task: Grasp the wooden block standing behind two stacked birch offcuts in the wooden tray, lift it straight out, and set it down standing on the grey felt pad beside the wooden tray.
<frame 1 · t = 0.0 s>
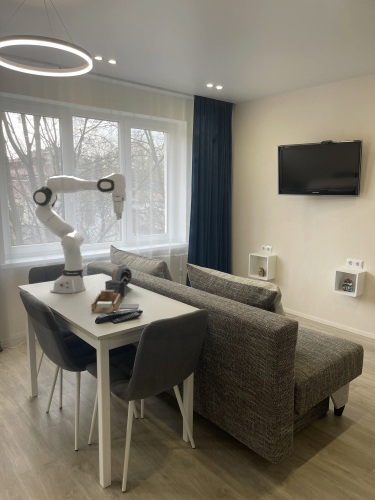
hand: (119, 219, 242), 48 cm above the table, fingers open, 8 cm apart
small box: (115, 297, 232), on the table
offcut low: (104, 311, 206), on the table, touching offcut top
offcut top: (104, 306, 206), point 2 cm above the table, touching offcut low
wooden block: (107, 305, 215), on the table
alarm clock: (121, 290, 249), on the table
wooden tray: (106, 306, 213), on the table
pad: (129, 306, 214), on the table
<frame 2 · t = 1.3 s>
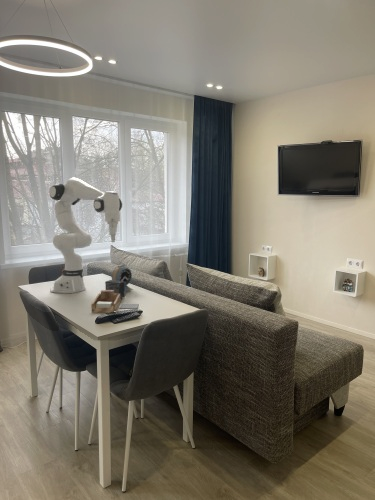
hand: (113, 241, 222), 36 cm above the table, fingers open, 8 cm apart
nothing on the table moved.
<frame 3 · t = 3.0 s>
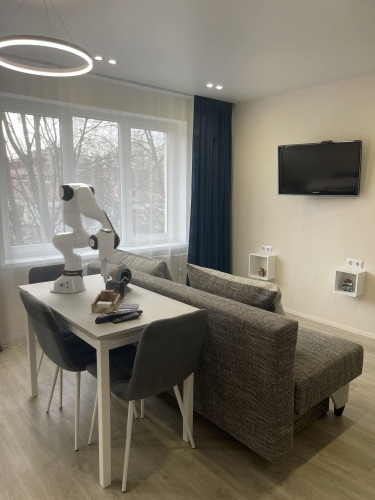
hand: (107, 280, 213), 15 cm above the table, fingers open, 8 cm apart
nothing on the table moved.
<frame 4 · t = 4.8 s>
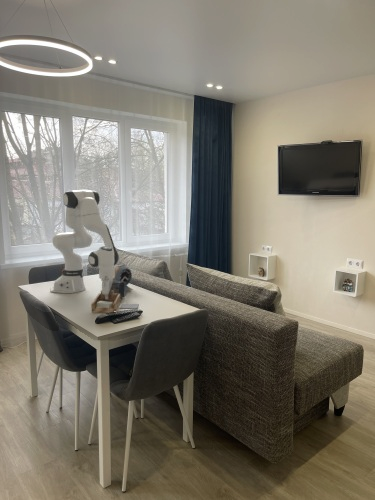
hand: (107, 297, 215), 5 cm above the table, fingers closed on wooden block, 3 cm apart
wooden block: (107, 305, 215), on the table, touching gripper
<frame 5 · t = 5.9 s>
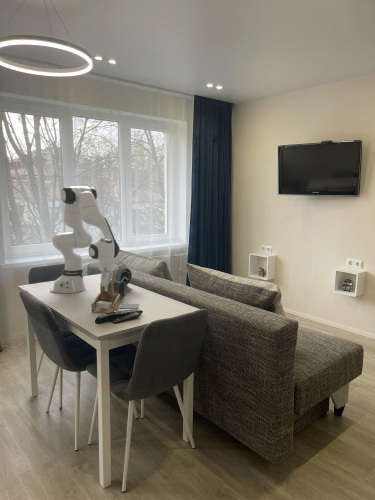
hand: (107, 289, 214), 9 cm above the table, fingers closed on wooden block, 3 cm apart
wooden block: (107, 297, 215), point 5 cm above the table, touching gripper
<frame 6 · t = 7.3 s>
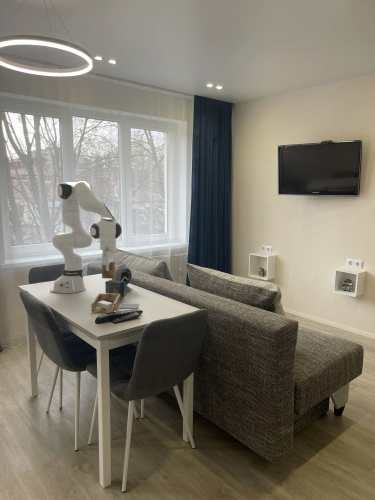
hand: (108, 270, 212), 21 cm above the table, fingers closed on wooden block, 3 cm apart
offcut top: (105, 306, 206), point 2 cm above the table, touching offcut low, wooden tray
wooden block: (108, 277, 212), point 17 cm above the table, touching gripper
everything else where it was.
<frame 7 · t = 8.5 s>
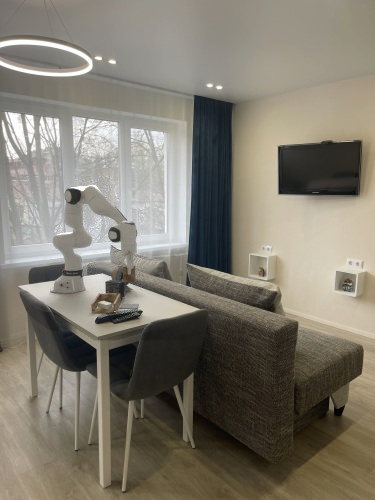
hand: (129, 273, 211), 20 cm above the table, fingers closed on wooden block, 3 cm apart
offcut low: (105, 311, 206), on the table
offcut top: (105, 307, 206), point 2 cm above the table
wooden block: (129, 281, 212), point 15 cm above the table, touching gripper
everything else where it was.
when the fingers open (6 cm above the table, at t = 11.1 s): wooden block stays where it is, resting on pad.
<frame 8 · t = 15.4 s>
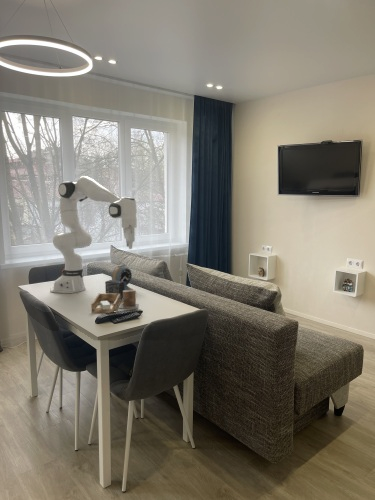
hand: (129, 247, 220), 33 cm above the table, fingers open, 8 cm apart
offcut low: (104, 311, 206), on the table, touching offcut top
offcut top: (105, 307, 206), point 2 cm above the table, touching offcut low, wooden tray
wooden block: (129, 305, 214), resting on pad
everything else where it was.
at the end: wooden block inside the target area (0.1 cm from its centre), resting on pad; wooden block tilted 0°; the gripper is holding nothing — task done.
